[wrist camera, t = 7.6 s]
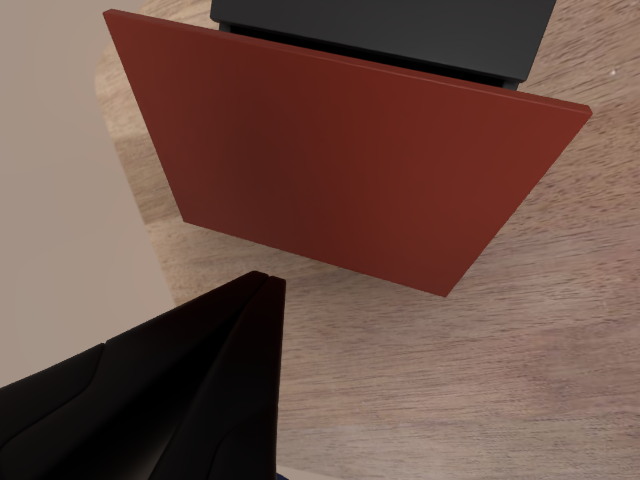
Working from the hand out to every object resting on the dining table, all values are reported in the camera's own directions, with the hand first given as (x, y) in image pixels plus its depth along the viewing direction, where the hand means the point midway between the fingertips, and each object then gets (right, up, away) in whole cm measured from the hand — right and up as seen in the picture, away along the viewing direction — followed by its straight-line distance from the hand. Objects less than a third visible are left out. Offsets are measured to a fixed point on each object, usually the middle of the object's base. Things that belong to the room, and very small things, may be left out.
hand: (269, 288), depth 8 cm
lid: (+1, +3, +2) cm, 4 cm away
